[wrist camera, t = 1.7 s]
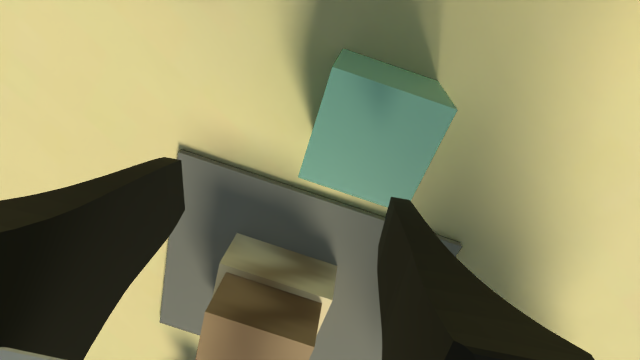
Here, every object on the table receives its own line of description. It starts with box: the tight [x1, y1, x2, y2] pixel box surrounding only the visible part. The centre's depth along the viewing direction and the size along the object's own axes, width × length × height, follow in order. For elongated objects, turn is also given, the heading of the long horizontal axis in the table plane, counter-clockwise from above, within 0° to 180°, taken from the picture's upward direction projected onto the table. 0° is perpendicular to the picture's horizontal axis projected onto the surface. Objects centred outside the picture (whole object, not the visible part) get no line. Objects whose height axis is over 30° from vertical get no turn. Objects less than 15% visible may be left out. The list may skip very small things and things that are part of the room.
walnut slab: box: [195, 272, 322, 360], centre depth 21 cm, size 6×6×3 cm
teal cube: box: [298, 49, 457, 207], centre depth 17 cm, size 5×5×5 cm
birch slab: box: [212, 233, 337, 333], centre depth 24 cm, size 7×7×3 cm
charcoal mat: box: [160, 150, 462, 360], centre depth 25 cm, size 18×16×1 cm
